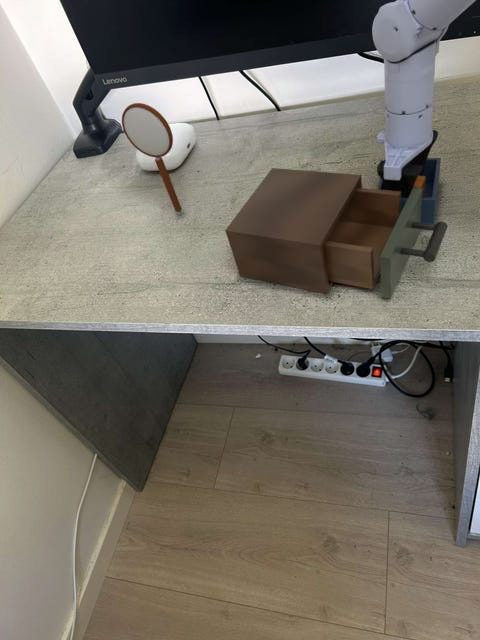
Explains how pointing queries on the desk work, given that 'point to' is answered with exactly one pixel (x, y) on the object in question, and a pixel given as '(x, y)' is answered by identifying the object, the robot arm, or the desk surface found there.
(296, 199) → the cabinet
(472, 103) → the desk surface
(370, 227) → the drawer
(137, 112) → the magnifying glass
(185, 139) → the earbud case
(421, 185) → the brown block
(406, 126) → the robot arm
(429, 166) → the open box
